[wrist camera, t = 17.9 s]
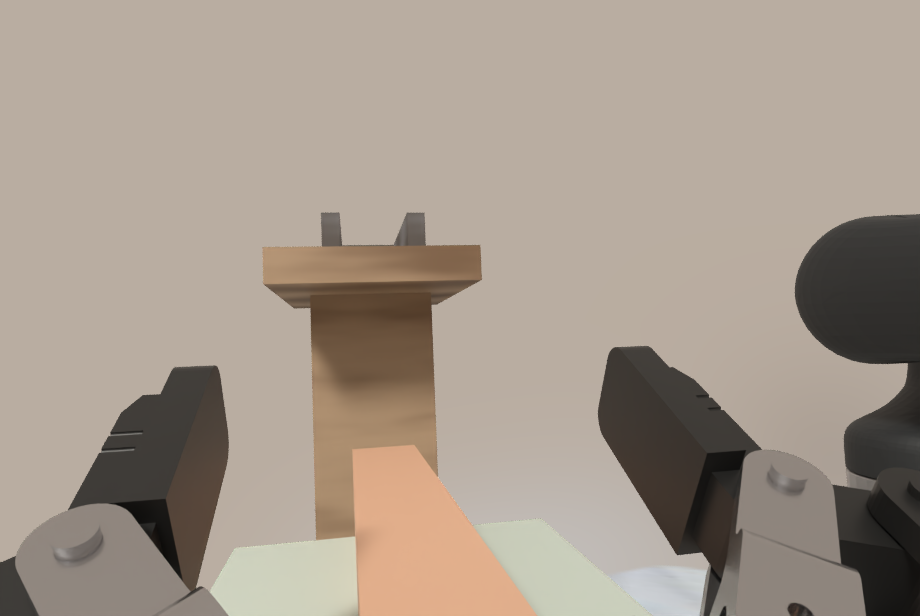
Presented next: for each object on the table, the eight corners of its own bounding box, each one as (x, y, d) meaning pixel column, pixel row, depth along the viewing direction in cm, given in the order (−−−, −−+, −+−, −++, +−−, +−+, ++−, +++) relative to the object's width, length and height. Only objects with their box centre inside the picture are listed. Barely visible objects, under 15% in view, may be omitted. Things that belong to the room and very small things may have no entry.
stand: (279, 673, 49) (271, 258, 52) (469, 647, 52) (453, 256, 54) (232, 885, 30) (222, 201, 32) (541, 825, 33) (511, 202, 35)
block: (353, 502, 29) (352, 449, 29) (416, 496, 29) (414, 444, 29) (372, 965, 7) (365, 741, 7) (611, 909, 8) (600, 703, 8)
